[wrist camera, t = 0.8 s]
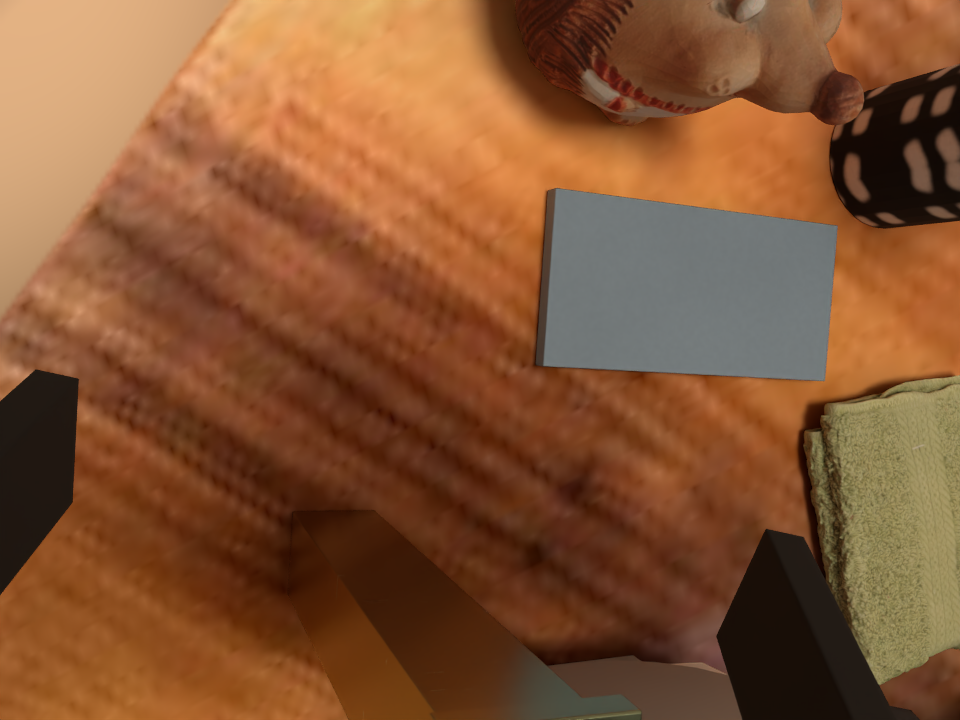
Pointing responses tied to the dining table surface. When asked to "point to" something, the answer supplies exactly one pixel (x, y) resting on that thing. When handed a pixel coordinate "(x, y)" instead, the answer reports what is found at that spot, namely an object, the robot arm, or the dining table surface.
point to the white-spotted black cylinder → (902, 153)
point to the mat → (683, 289)
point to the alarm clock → (656, 687)
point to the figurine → (691, 55)
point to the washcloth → (892, 519)
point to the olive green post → (415, 633)
